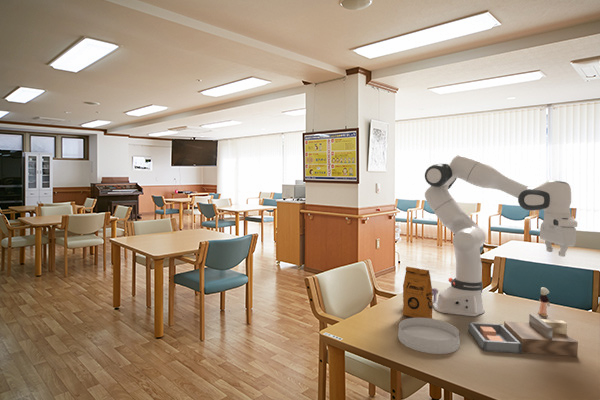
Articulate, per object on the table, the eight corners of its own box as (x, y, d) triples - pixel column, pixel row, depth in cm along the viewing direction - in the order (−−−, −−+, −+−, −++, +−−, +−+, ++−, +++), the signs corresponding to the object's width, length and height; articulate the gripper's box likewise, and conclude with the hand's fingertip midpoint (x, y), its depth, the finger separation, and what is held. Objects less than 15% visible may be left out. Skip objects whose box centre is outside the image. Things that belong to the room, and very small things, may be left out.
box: (483, 350, 132) (483, 341, 132) (468, 330, 150) (468, 322, 150) (521, 353, 130) (521, 343, 130) (501, 332, 148) (501, 324, 148)
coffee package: (425, 324, 157) (426, 272, 155) (399, 316, 165) (400, 267, 164) (436, 318, 163) (437, 268, 162) (410, 310, 172) (411, 264, 171)
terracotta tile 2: (496, 331, 142) (496, 338, 142) (491, 327, 146) (491, 333, 146) (483, 331, 142) (483, 337, 142) (479, 326, 147) (479, 332, 147)
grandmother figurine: (533, 312, 172) (534, 285, 171) (540, 311, 172) (542, 285, 171) (545, 318, 164) (546, 290, 163) (553, 318, 164) (554, 290, 163)
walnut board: (521, 352, 131) (522, 338, 131) (503, 333, 147) (504, 321, 147) (577, 356, 129) (578, 342, 128) (553, 336, 144) (553, 324, 144)
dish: (429, 359, 126) (429, 345, 126) (385, 335, 145) (386, 323, 145) (472, 346, 136) (473, 333, 136) (426, 325, 156) (427, 314, 155)
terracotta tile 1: (503, 341, 133) (503, 348, 133) (499, 336, 137) (499, 342, 138) (490, 340, 134) (490, 347, 134) (486, 335, 138) (486, 341, 138)
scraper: (547, 338, 131) (547, 327, 130) (529, 323, 145) (529, 313, 144) (575, 340, 129) (575, 329, 129) (554, 325, 143) (554, 315, 143)
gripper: (536, 217, 161) (534, 248, 162) (562, 222, 141) (560, 258, 141) (551, 217, 160) (550, 249, 161) (580, 223, 140) (578, 259, 141)
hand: (555, 253), depth 151 cm, fingers open, 8 cm apart
